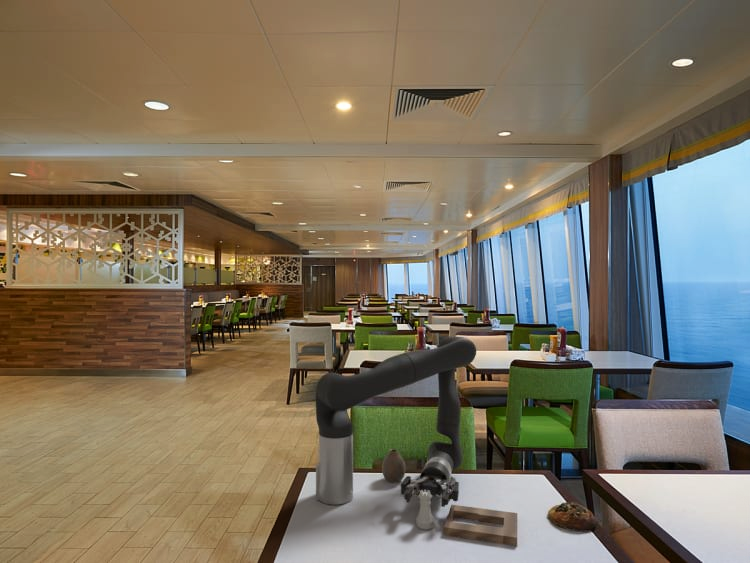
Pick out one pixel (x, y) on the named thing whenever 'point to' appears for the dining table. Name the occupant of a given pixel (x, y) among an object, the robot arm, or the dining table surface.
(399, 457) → the vase
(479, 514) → the rectangular wooden frame
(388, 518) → the dining table surface
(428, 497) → the rook chess piece
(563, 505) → the bread roll
